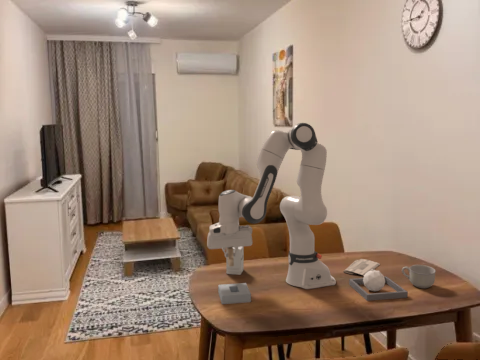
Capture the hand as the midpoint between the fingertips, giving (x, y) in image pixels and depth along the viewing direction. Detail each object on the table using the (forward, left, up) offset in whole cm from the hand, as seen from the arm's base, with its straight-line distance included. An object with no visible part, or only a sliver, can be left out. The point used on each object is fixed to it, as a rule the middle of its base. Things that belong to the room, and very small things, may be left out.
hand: (230, 256), depth 197 cm
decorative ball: (-59, +17, -13) cm, 63 cm away
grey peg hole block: (+1, +15, -13) cm, 20 cm away
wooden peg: (0, 0, -4) cm, 4 cm away
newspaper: (-66, -9, -14) cm, 68 cm away
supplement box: (-4, -15, -13) cm, 20 cm away
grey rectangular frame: (-61, +19, -13) cm, 65 cm away
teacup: (-82, +16, -13) cm, 85 cm away
